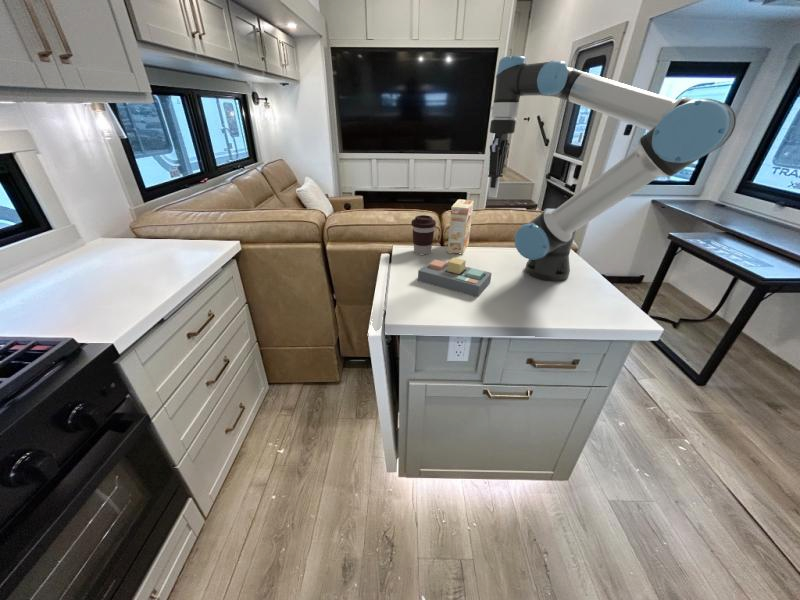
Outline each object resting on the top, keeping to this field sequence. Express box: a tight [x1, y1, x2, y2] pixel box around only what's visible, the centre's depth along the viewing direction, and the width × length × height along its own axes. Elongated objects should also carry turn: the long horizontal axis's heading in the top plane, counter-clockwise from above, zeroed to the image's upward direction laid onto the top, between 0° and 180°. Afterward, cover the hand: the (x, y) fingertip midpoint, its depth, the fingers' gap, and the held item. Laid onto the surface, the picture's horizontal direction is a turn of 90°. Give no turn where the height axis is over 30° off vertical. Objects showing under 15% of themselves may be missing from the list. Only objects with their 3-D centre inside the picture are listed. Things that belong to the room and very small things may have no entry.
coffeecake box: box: [447, 198, 475, 255], centre depth 138 cm, size 15×7×20 cm, turn 160°
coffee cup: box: [410, 214, 437, 255], centre depth 134 cm, size 10×10×15 cm
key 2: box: [466, 267, 485, 280], centre depth 109 cm, size 5×5×4 cm
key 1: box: [429, 259, 447, 271], centre depth 116 cm, size 5×5×4 cm
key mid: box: [447, 257, 467, 274], centre depth 111 cm, size 5×5×4 cm
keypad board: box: [417, 258, 493, 298], centre depth 112 cm, size 22×12×4 cm, turn 58°
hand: (492, 196), depth 112 cm, fingers closed
